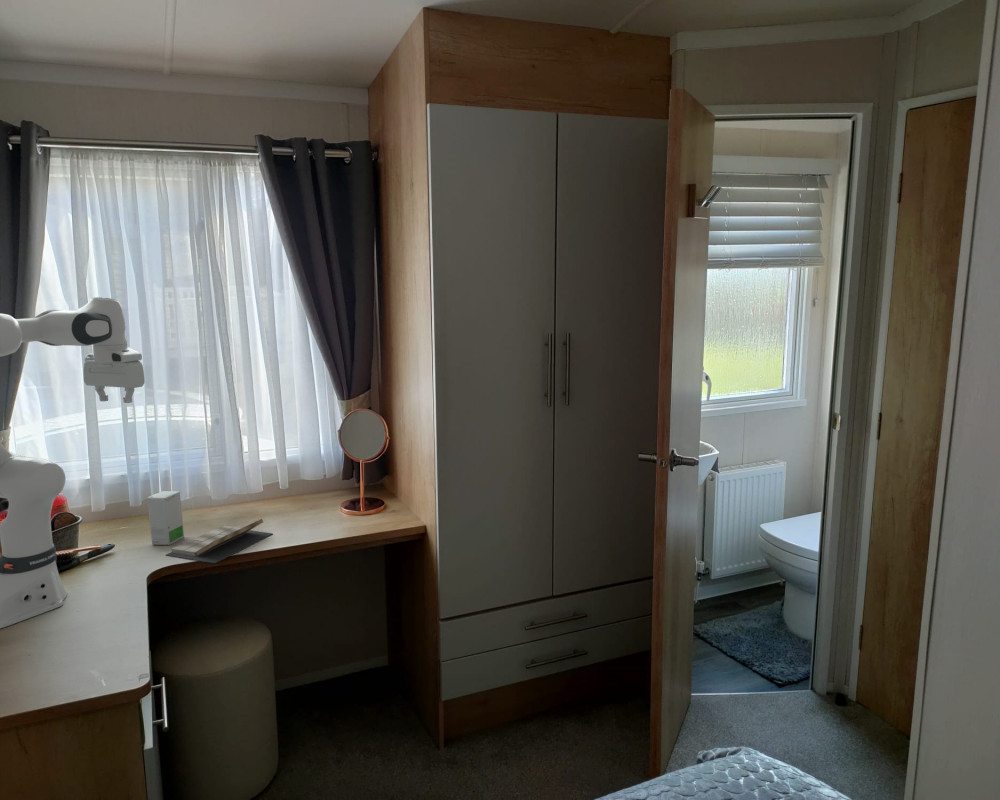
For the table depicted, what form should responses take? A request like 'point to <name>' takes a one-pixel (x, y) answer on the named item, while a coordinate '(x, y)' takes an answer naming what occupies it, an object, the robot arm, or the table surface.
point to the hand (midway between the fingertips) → (116, 401)
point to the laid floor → (203, 540)
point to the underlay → (226, 547)
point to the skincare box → (165, 517)
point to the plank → (228, 537)
